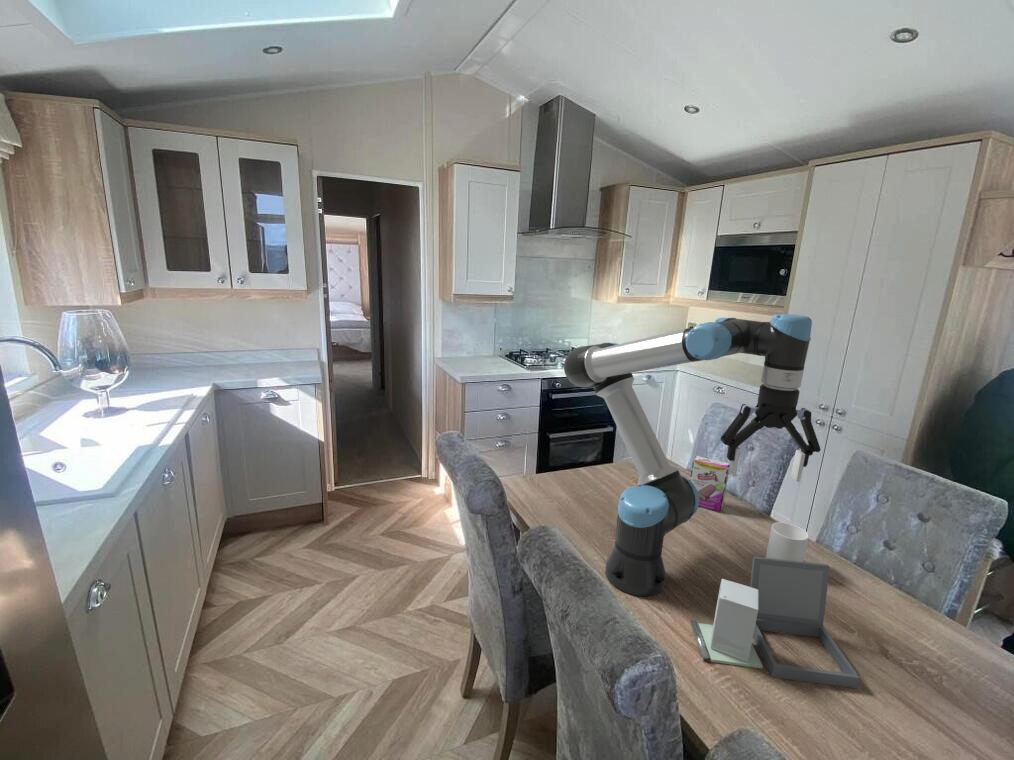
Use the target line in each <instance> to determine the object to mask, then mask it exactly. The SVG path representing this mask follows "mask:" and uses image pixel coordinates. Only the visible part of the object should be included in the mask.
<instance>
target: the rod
mask: <svg viewBox="0 0 1014 760" xmlns="http://www.w3.org/2000/svg"><path fill="white" fill-rule="evenodd" d="M690 626H691V629H692V631H693V635H694V637H695V642H696V643H697V646H698V649H699V652H700V655H701V659H702V660H703V661H704V662H709V661H710V658H709V655H708V652H707V649H706V646H705V643H704V641H703V638H702V635H701V632H700V629H699V627H698V621H697V620H696V619H691V620H690Z"/></svg>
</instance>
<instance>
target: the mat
mask: <svg viewBox="0 0 1014 760" xmlns="http://www.w3.org/2000/svg"><path fill="white" fill-rule="evenodd" d="M697 624H698V627H699V629H700V632H701V635H702V638H703V641H704V643H705V646H706V649H707V652H708V655H709V658H710V659H709V661H710V663H716V664H717V663H718V664H726V665H732V666H740V667H746V668H756V669H763V666H764V665H763V663H762V662H761V660H760V657H759V656H758V654H757V652H756V650H755V647H754V645H753V644H752V645H751V650H750V655H749V660H748V662H746V661H743V660H740V659H737V658H735V657H732V656H729V655H727V654H724V653H722V652H719V651H716V650H714V649H711V648H710V647H711V637H712V629H713V624H710V623H709V624H708V623H701V622H700V623H699V622H697Z"/></svg>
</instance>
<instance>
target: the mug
mask: <svg viewBox="0 0 1014 760" xmlns="http://www.w3.org/2000/svg"><path fill="white" fill-rule="evenodd" d="M809 537H810V535H809V534H808V532H807V531H806V530H805V529H803V528H802V527H800V526H798V525H795V524H793V523H789V522H782V521H781V522H779V521H777V522H774V523H773V524H771V529H770V534H769V538H768V543H767V548H766V549H767V550H766V555H765V558H771V559H781V560H790V561H800V562H805V561H804V559H805V555H806V552H807V550H808V548H809V543H810V538H809Z"/></svg>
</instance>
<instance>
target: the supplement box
mask: <svg viewBox="0 0 1014 760" xmlns="http://www.w3.org/2000/svg"><path fill="white" fill-rule="evenodd" d="M718 590H719V591H718V596H717V602H716V607H715V613H714V620H713V623H712V625H713V629H712V637H711V647H710V648H711V649H714V650H716V651H719V652H722V653H724V654H727V655H729V656H732V657H735V658H737V659H740V660H743V661H746V662H748V660H749V655H750V650H751V645H753V640H754V639H753V635H754V629H755V624H756V619H757V614H758V609H759V593H758V589H755V588H752V587H750V586H748V585H745V584H741V583H738V582H735V581H731V580H727V579H725V578H721V581H720V585H719V589H718Z"/></svg>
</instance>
